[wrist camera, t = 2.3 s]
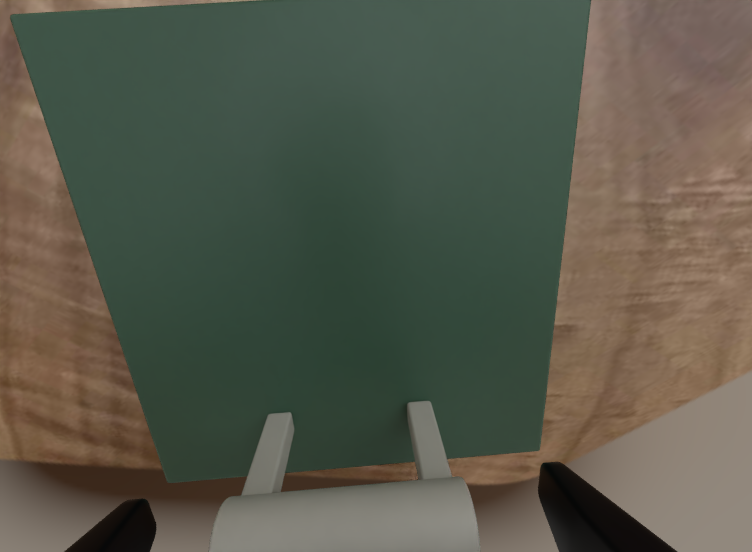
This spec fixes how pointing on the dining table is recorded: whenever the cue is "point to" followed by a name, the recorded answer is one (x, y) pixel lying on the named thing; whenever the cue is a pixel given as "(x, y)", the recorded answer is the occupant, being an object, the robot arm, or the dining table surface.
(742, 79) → the dining table surface
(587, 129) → the dining table surface
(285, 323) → the lid
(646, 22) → the dining table surface
